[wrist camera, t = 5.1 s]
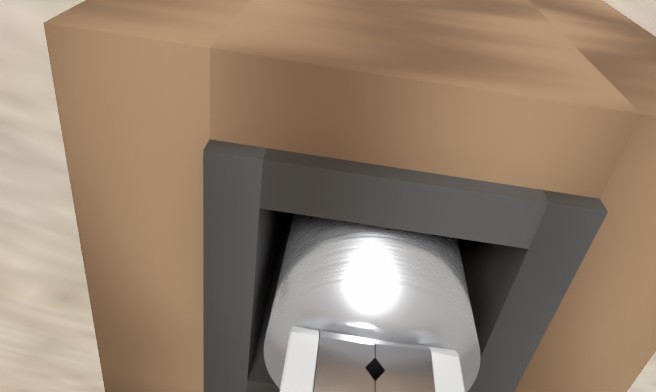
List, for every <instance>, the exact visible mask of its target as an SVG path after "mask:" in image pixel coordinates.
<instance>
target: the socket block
mask: <svg viewBox="0 0 656 392" xmlns="http://www.w3.org/2000/svg"><path fill="white" fill-rule="evenodd" d="M44 28H45V34H46V40H47V46H48V52H49V58H50V64H51V70H52V76H53V82H54V88H55V94H56V100H57V106H58V112H59V118H60V124H61V130H62V136H63V142H64V147H65V153H66V159H67V165H68V171H69V177H70V183H71V189H72V195H73V201H74V207H75V213H76V219H77V225H78V231H79V237H80V243H81V249H82V255H83V261H84V267H85V273H86V279H87V285H88V291H89V297H90V303H91V309H92V315H93V321H94V327H95V333H96V339H97V345H98V351H99V357H100V363H101V369H102V375H103V381H104V387H105V392H280V389H279V388H278V386H277V385H276V384H275V383H274V381H273V380H272V378H271V376H270V374H269V372H268V370H267V367H266V365H265V359H264V342H265V337H266V332H267V328H268V324H269V319H270V315H271V310H272V306H273V302H274V297H275V293H276V289H277V284H278V280H279V275H280V271H281V267H282V262H283V258H284V254H285V249H286V245H287V240H288V236H289V232H290V227H291V223H292V219H293V214H300V215H307V216H313V217H320V218H327V219H333V220H340V221H346V222H353V223H360V224H366V225H373V226H379V227H386V228H393V229H399V230H406V231H412V232H419V233H426V234H432V235H439V236H446V237H452V238H457V239H458V244H459V249H460V254H461V259H462V264H463V269H464V274H465V279H466V283H467V288H468V293H469V298H470V303H471V308H472V313H473V318H474V323H475V328H476V332H477V337H478V342H479V347H480V357H481V360H480V368H479V371H478V374H477V377H476V379H475V381H474V383H473V385H472V387H471V388H470V389H469V390H468V392H627V391H628V389H629V388H630V386H631V385H632V384H633V382H634V381H635V379H636V378H637V377H638V375H639V374H640V372H641V371H642V369H643V368H644V367H645V365H646V364H647V362H648V361H649V360H650V358H651V357H652V355H653V354H654V353H655V351H656V37H655V36H653V35H652V34H650V33H649V32H648V31H646V30H645V29H643V28H642V27H640V26H639V25H637V24H636V23H634V22H633V21H631V20H630V19H629V18H627V17H626V16H624V15H623V14H621V13H620V12H618V11H617V10H615V9H614V8H612V7H611V6H609V5H608V4H607V3H605V2H604V1H602V0H86V1H84V2H82V3H80V4H78V5H76V6H74V7H72V8H71V9H69V10H67V11H65V12H63V13H61V14H59V15H57V16H55V17H53V18H52V19H50V20H48V21H46V22H44Z"/></svg>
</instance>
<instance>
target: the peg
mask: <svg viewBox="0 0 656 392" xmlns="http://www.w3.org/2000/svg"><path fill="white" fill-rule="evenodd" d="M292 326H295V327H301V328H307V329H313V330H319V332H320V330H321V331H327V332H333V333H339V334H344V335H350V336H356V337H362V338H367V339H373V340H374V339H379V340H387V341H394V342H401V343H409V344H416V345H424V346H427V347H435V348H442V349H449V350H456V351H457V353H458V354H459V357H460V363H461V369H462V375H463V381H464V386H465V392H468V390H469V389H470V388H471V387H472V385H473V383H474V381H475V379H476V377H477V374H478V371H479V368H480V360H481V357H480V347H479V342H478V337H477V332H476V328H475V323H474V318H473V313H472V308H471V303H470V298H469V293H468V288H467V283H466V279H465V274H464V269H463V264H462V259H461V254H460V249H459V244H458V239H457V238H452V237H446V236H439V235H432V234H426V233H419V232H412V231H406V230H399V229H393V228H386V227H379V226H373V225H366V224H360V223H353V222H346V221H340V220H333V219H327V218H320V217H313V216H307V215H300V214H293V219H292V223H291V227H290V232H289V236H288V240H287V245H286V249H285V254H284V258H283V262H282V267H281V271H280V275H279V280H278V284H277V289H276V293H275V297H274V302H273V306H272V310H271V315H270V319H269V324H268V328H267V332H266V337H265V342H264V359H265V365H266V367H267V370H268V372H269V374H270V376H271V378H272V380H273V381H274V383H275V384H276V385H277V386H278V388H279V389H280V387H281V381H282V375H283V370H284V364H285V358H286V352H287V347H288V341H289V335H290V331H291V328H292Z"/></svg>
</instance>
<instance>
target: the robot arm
mask: <svg viewBox="0 0 656 392" xmlns="http://www.w3.org/2000/svg"><path fill="white" fill-rule="evenodd" d="M280 392H465V386H464V381H463V375H462V369H461V363H460V357H459V354H458V353H457V351H456V350H449V349H442V348H435V347H427V346H424V345H416V344H409V343H401V342H394V341H387V340H379V339H374V340H373V339H367V338H362V337H356V336H350V335H344V334H339V333H333V332H327V331H321V330H320V332H319V330H313V329H307V328H301V327H295V326H292V328H291V331H290V335H289V341H288V347H287V352H286V358H285V364H284V370H283V375H282V381H281V387H280Z"/></svg>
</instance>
